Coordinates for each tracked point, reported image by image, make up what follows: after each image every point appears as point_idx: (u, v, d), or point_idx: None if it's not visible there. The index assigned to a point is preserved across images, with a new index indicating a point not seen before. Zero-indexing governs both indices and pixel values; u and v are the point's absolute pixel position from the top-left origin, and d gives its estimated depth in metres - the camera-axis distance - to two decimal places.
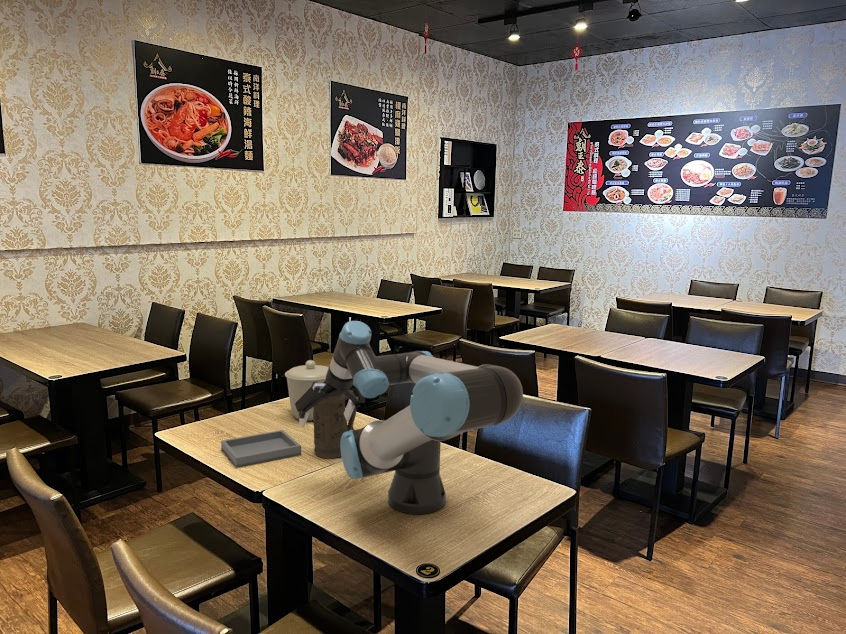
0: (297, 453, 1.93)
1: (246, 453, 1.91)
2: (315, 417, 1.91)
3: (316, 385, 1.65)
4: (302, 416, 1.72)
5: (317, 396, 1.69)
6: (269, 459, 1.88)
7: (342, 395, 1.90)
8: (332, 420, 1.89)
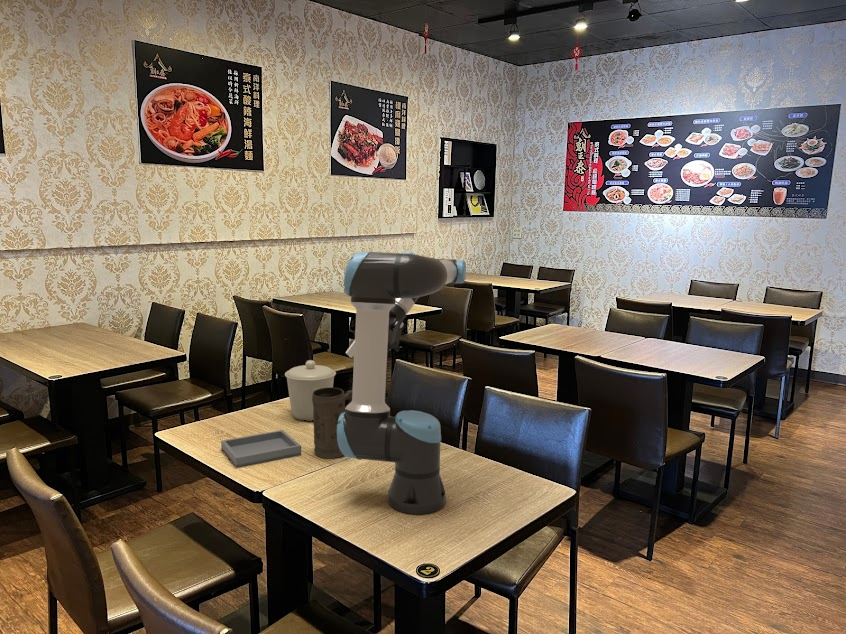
0: (297, 453, 1.93)
1: (246, 453, 1.91)
2: (315, 417, 1.91)
3: None
4: (353, 343, 2.06)
5: None
6: (269, 459, 1.88)
7: (342, 395, 1.90)
8: (332, 420, 1.89)
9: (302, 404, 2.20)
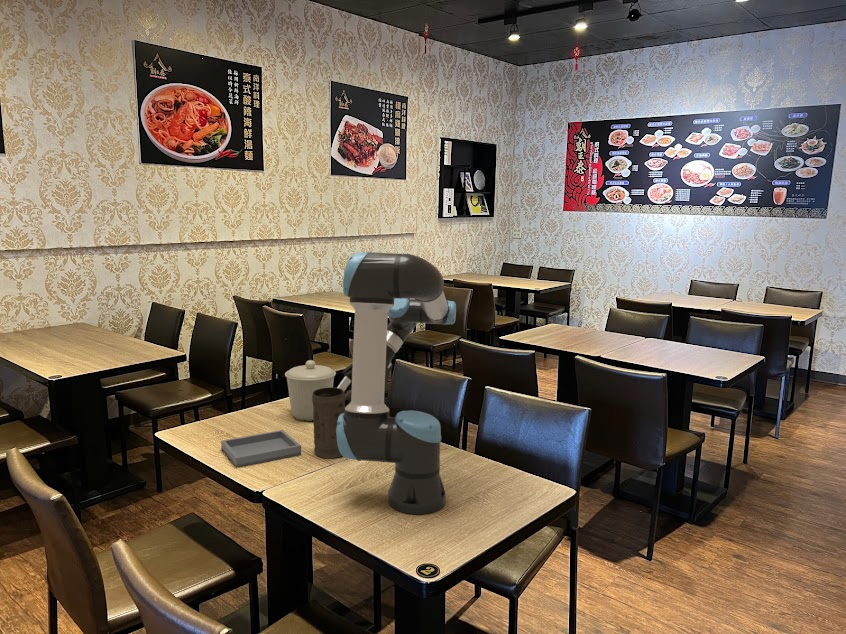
0: (297, 453, 1.93)
1: (246, 453, 1.91)
2: (315, 417, 1.91)
3: None
4: None
5: None
6: (269, 459, 1.88)
7: (342, 395, 1.90)
8: (332, 420, 1.89)
9: (302, 404, 2.20)
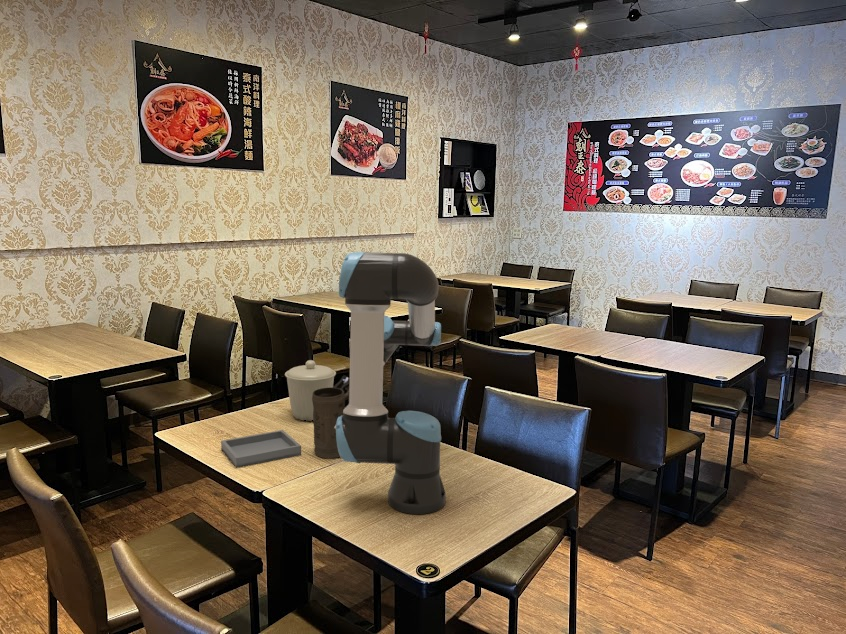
0: (297, 453, 1.93)
1: (246, 453, 1.91)
2: (315, 417, 1.91)
3: None
4: None
5: None
6: (269, 459, 1.88)
7: (342, 395, 1.90)
8: (332, 420, 1.89)
9: (302, 404, 2.20)
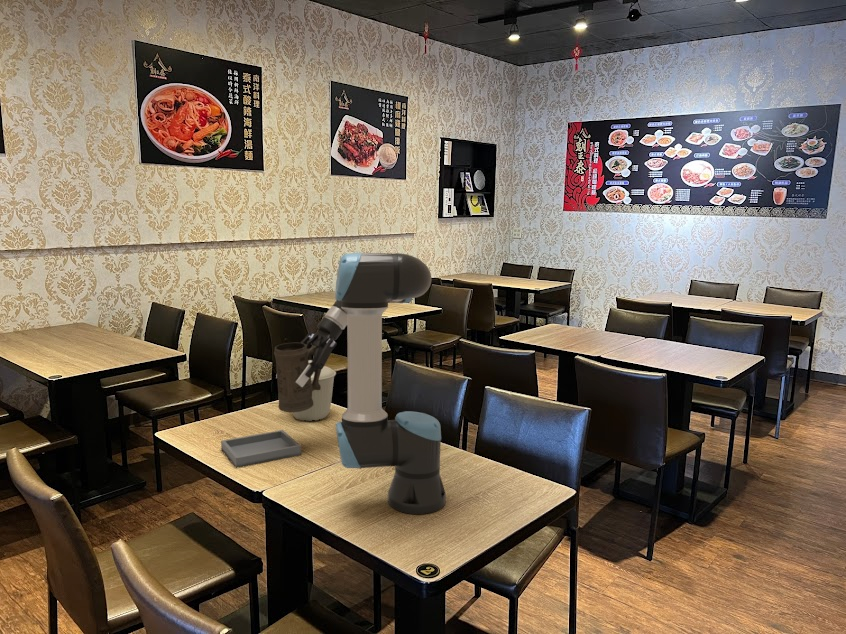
0: (297, 453, 1.93)
1: (246, 453, 1.91)
2: (277, 371, 1.90)
3: None
4: None
5: None
6: (269, 459, 1.88)
7: (304, 349, 1.89)
8: (294, 374, 1.88)
9: None
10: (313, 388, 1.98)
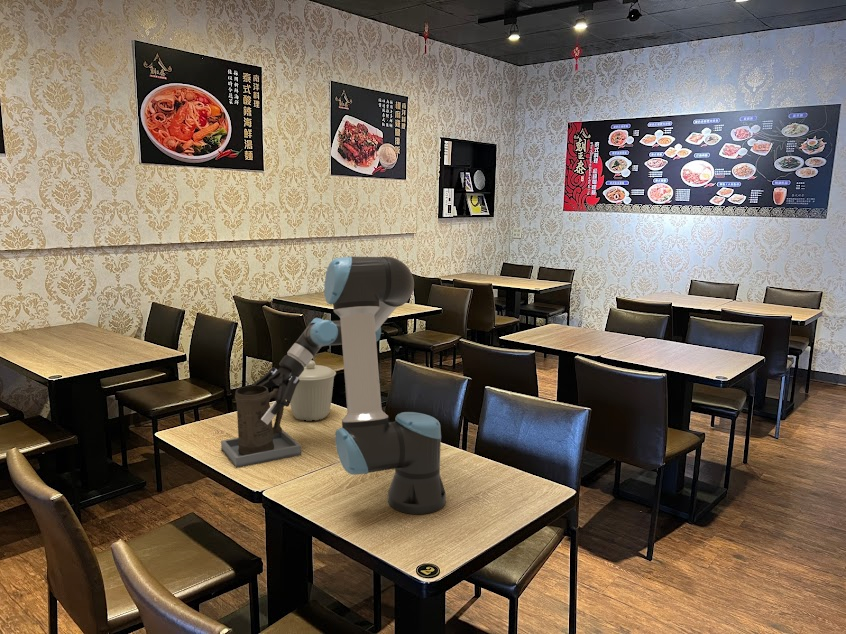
0: (297, 453, 1.93)
1: None
2: (238, 415, 1.88)
3: None
4: None
5: None
6: (269, 459, 1.88)
7: (265, 393, 1.88)
8: (255, 418, 1.86)
9: (302, 404, 2.20)
10: (274, 431, 1.96)
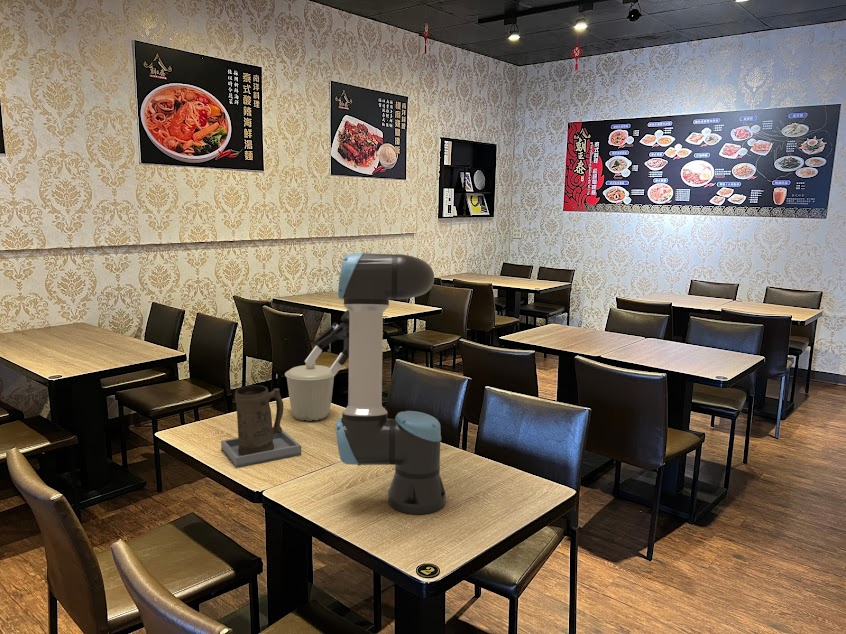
0: (297, 453, 1.93)
1: None
2: (237, 415, 1.88)
3: None
4: (312, 351, 2.05)
5: None
6: (269, 459, 1.88)
7: (265, 393, 1.88)
8: (254, 418, 1.86)
9: (302, 404, 2.20)
10: (274, 431, 1.96)
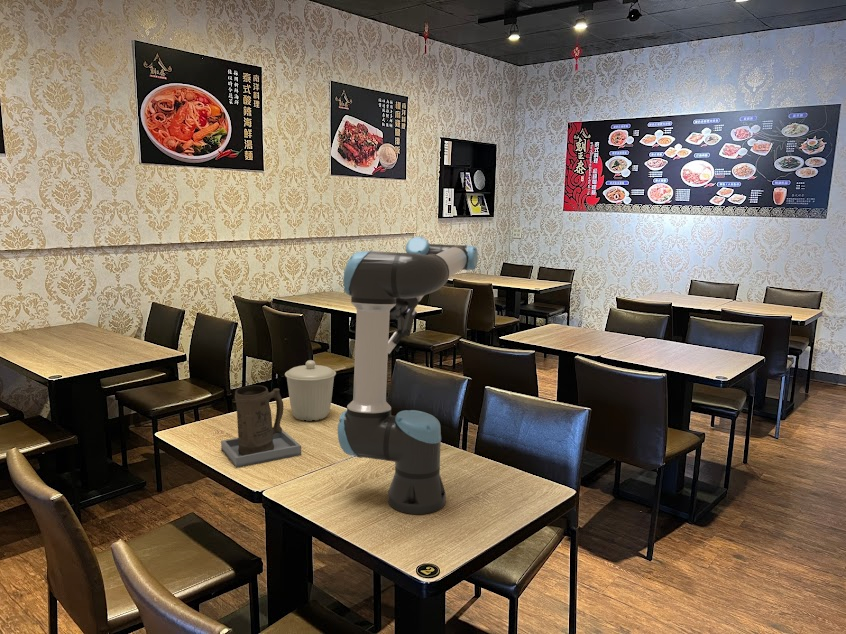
0: (297, 453, 1.93)
1: None
2: (237, 415, 1.88)
3: None
4: None
5: None
6: (269, 459, 1.88)
7: (265, 393, 1.88)
8: (254, 418, 1.86)
9: (302, 404, 2.20)
10: (274, 431, 1.96)
